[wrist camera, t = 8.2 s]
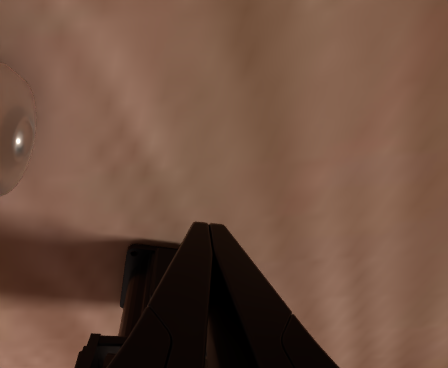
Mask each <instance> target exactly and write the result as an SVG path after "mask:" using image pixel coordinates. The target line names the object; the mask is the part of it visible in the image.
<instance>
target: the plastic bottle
mask: <svg viewBox="0 0 448 368" xmlns="http://www.w3.org/2000/svg"><path fill="white" fill-rule="evenodd" d="M35 134H36V106H35V100H34V96H33V93H32V90H31V88H30V86H29V85H28V83H27V82H26V81H25V80H24V79H23V78H22V77H20V76H19V75H18V74H17V73H16V72H15V71H13V70H12V69H11V68H10V67H9V66H8V65H6V64H4V63H1V62H0V196H2V195H5V194H7V193H9V192H10V191H11V190H13V188H14V187H15V186H16V185H17V184H18V182H19V181H20V179H21V178H22V176H23V174H24V172H25V170H26V168H27V165H28V163H29V160H30V157H31V154H32V150H33V146H34V141H35Z"/></svg>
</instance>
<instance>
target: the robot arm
mask: <svg viewBox="0 0 448 368" xmlns="http://www.w3.org/2000/svg"><path fill="white" fill-rule="evenodd" d="M133 251H137V252H133ZM120 307H121V308H123V313H122V319H121V324H120V329H119V334H118V336H101V334H93V333H91V335H90V338H89V341H88V344H87V346H84V347H83V350H82V351H80V352H79V354H78V358H77V361H76V365H75V368H339V367H338V366H337V364H336V363H335V362H334V361H333V360H332V359H331V358H330V357H329V356H328V355H327V353H326V352H325V351H324V350H323V349H322V348H321V347H320V346H319V345H318V343H317V342H316V341H315V340H314V339H313V337H312V336H311V335H310V334H309V333H308V331H307V330H306V329H305V328H304V326H303V325H302V324H301V323H300V321H299V320H298V319H297V318H296V316H295V315H294V314H292V311H291V310H290V309H289V307H288V306H287V305H286V304H285V302H284V301H283V300H282V298H281V297H280V296H279V295H278V293H277V292H276V291H275V289H274V288H273V287H272V286H271V284H270V283H269V282H268V281H267V279H266V278H265V277H264V275H263V274H262V273H261V272H260V270H259V269H258V268H257V266H256V265H255V264H254V263H253V261H252V260H251V259H250V257H249V256H248V255H247V254H246V252H245V251H244V250H243V248H242V247H241V246H240V245H239V243H238V242H237V241H236V239H235V238H234V237H233V236H232V234H231V233H230V232H229V230H228V229H227V228H226V227H225V226H224V225H223V224H215V223H210V224H209V225H208V223H205V222H193V224H192V225H191V227H190V229H189V231H188V233H187V234H186V236H185V238H184V240H183V242H182V243H181V245H180V247H179V249H171V248H163V247H155V246H146V245H138V244H132V245H130V246H129V247H128V249H127V255H126V262H125V270H124V277H123V285H122V292H121V300H120Z"/></svg>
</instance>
